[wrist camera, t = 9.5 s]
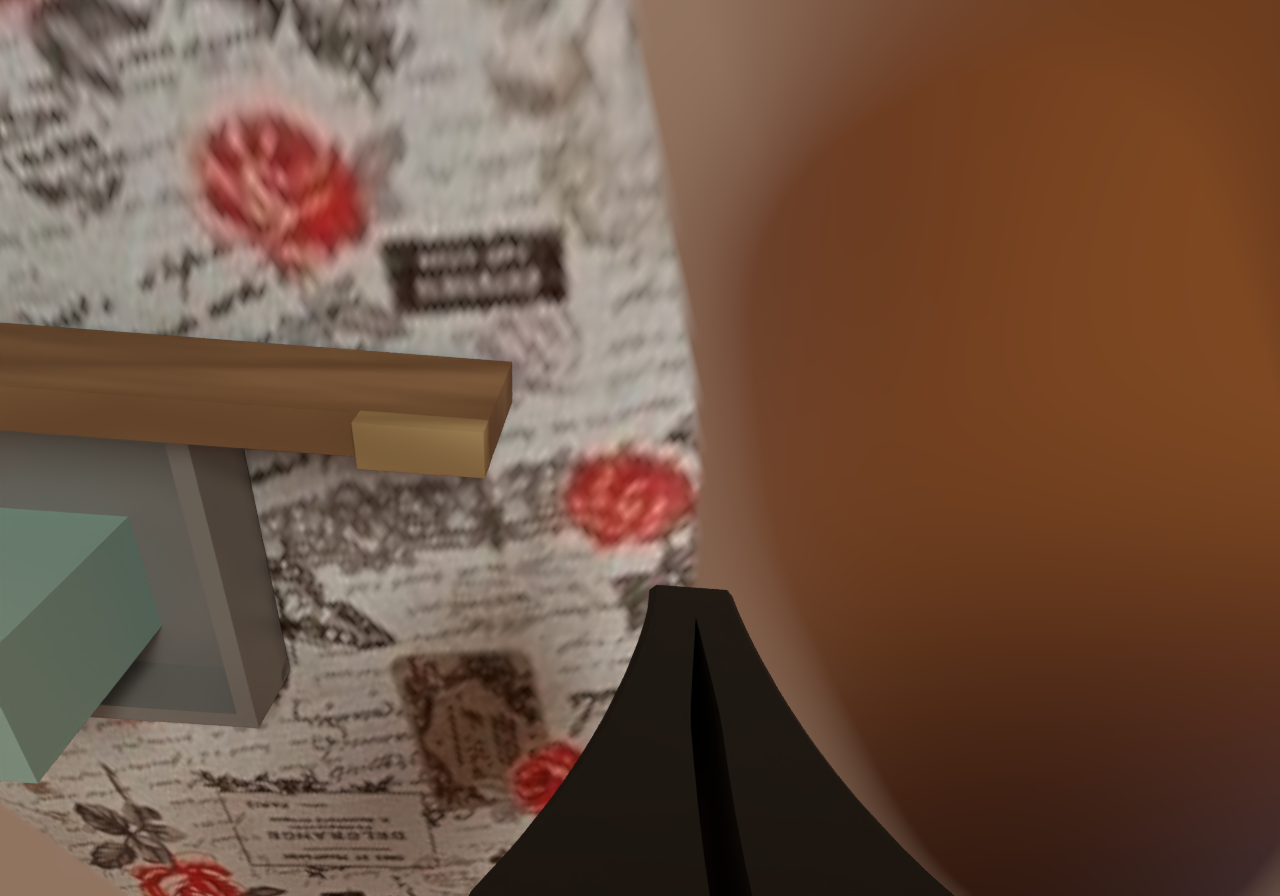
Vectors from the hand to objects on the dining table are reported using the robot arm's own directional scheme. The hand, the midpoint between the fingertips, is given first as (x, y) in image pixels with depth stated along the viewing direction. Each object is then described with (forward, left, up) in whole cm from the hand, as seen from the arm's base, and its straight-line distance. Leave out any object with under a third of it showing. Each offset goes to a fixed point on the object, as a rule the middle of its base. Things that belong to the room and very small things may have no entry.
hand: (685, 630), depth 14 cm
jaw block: (+7, -19, -9) cm, 22 cm away
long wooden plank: (0, -12, -9) cm, 15 cm away
